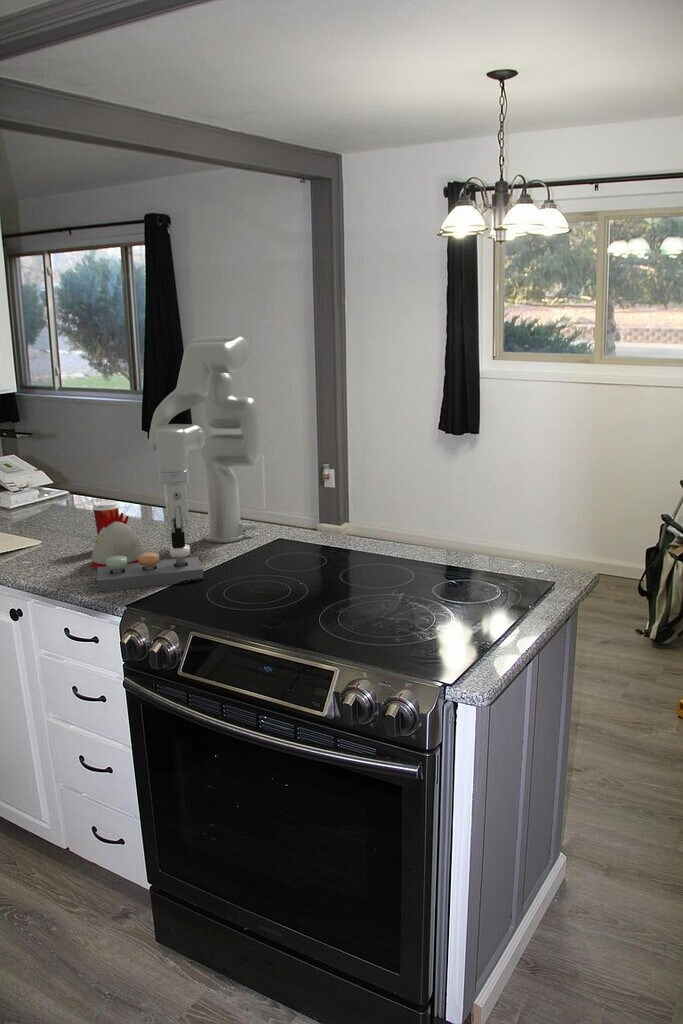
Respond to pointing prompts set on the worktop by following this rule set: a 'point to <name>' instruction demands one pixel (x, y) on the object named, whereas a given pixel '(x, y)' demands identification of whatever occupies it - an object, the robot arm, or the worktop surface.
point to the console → (149, 574)
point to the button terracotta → (148, 560)
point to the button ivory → (180, 554)
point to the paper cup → (104, 507)
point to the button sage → (116, 563)
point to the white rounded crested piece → (115, 541)
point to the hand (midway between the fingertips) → (178, 546)
